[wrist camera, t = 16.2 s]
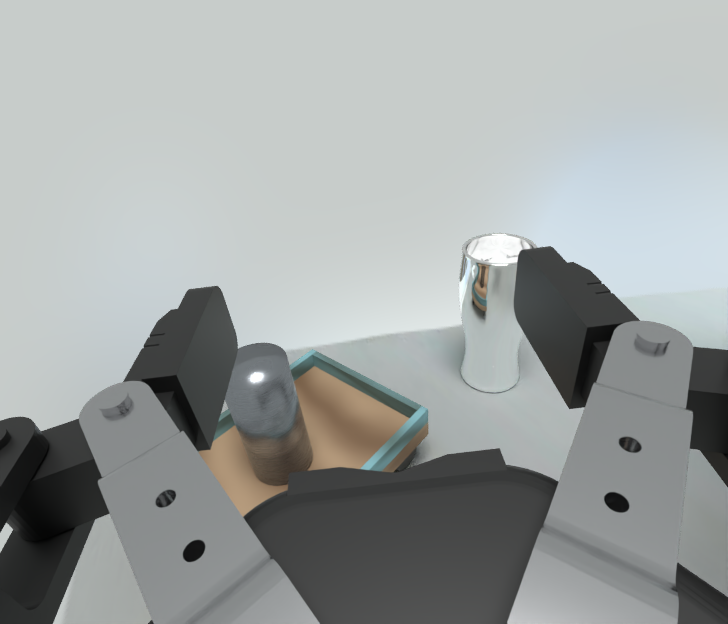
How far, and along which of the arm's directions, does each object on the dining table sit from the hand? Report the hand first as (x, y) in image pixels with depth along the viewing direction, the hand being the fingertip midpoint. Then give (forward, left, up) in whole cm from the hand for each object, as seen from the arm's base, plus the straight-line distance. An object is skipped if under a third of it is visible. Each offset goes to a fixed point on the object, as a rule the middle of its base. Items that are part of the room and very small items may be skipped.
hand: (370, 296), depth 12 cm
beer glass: (-27, -9, -27) cm, 39 cm away
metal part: (-4, -15, -22) cm, 27 cm away
